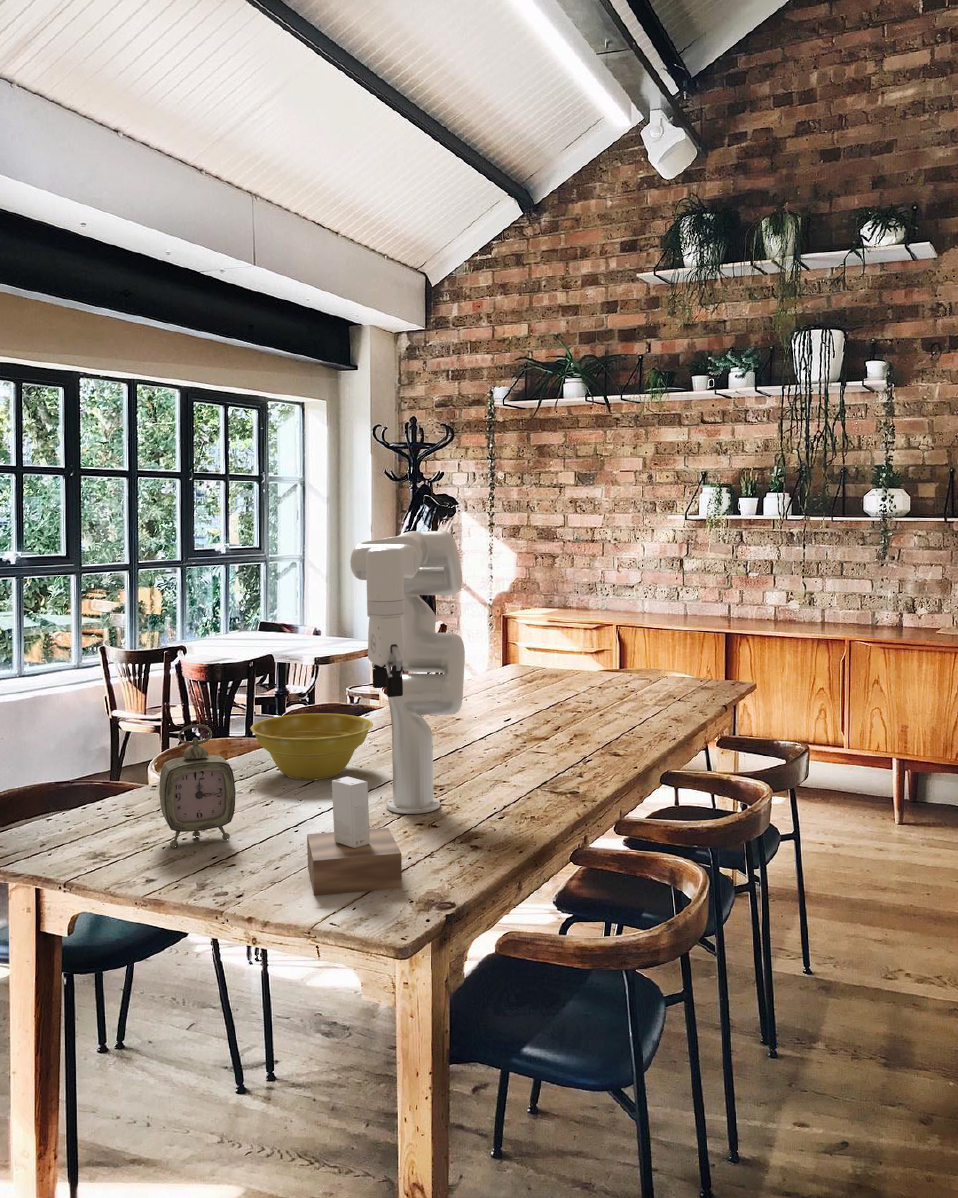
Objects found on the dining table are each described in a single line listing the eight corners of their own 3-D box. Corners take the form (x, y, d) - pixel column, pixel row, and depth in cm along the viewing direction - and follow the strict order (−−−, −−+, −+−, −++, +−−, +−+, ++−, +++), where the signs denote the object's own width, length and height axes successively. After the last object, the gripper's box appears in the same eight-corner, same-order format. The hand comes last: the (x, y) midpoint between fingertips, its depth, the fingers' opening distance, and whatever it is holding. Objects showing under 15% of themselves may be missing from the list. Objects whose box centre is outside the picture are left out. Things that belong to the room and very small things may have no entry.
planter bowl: (395, 777, 268) (394, 727, 267) (281, 797, 250) (279, 743, 249) (340, 754, 294) (339, 708, 293) (233, 770, 276) (232, 721, 275)
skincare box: (370, 844, 192) (370, 781, 191) (352, 849, 189) (351, 785, 188) (350, 836, 196) (349, 775, 195) (331, 842, 193) (330, 779, 192)
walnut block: (307, 869, 199) (307, 834, 199) (388, 862, 203) (388, 827, 202) (314, 898, 184) (313, 860, 183) (401, 890, 187) (401, 853, 187)
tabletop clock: (166, 852, 209) (162, 731, 207) (159, 839, 217) (155, 723, 215) (236, 842, 215) (233, 725, 213) (228, 830, 223) (225, 717, 221)
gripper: (356, 605, 212) (358, 685, 214) (380, 614, 196) (382, 701, 198) (390, 603, 215) (392, 682, 217) (417, 612, 199) (418, 698, 201)
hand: (387, 691), depth 207 cm, fingers open, 9 cm apart
